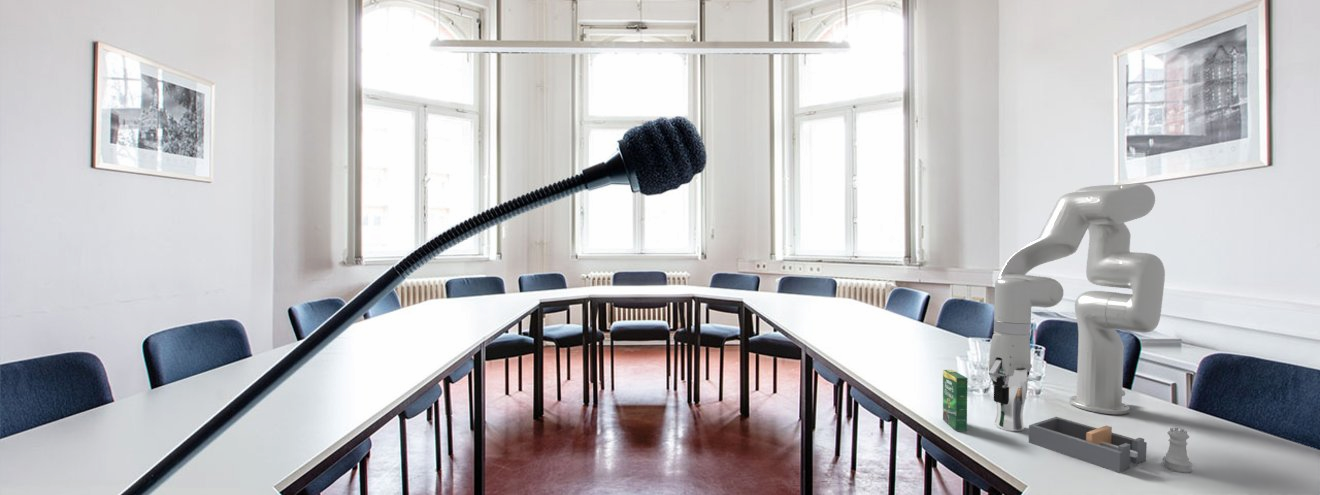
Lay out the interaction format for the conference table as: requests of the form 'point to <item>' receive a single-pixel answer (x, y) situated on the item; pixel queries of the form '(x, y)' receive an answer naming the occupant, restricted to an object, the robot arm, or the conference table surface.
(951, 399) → the coffee box
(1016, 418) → the beer glass
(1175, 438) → the rook chess piece
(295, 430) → the conference table surface
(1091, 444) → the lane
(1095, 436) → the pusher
